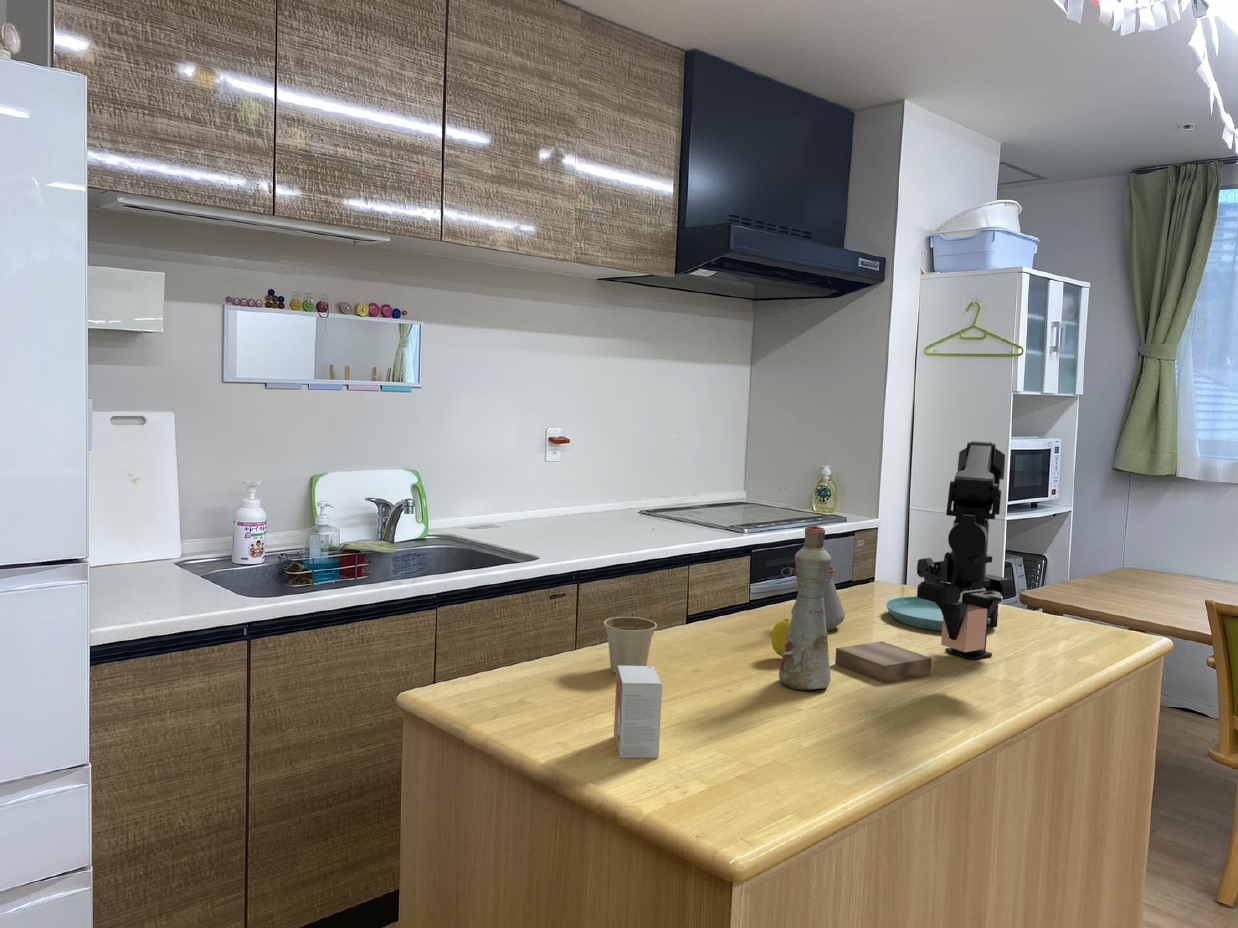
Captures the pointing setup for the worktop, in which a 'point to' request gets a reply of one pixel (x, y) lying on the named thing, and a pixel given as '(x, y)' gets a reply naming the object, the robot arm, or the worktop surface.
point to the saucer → (917, 612)
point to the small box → (637, 712)
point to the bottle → (808, 619)
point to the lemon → (780, 635)
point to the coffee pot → (828, 601)
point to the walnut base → (883, 661)
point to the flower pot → (629, 641)
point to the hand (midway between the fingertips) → (963, 637)
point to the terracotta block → (968, 631)
